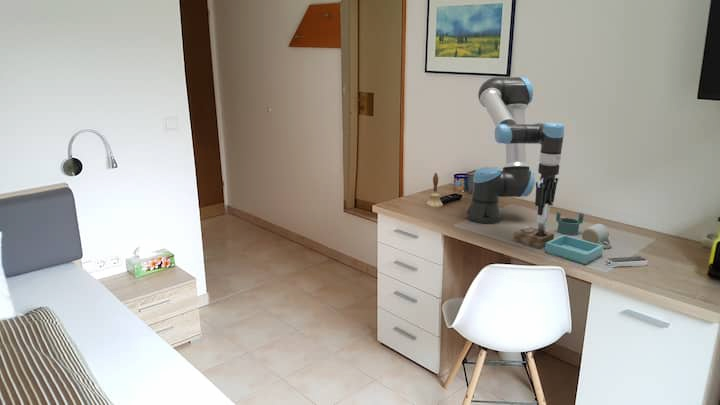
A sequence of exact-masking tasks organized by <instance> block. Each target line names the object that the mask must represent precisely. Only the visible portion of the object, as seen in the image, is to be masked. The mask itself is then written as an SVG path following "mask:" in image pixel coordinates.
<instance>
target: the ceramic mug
mask: <svg viewBox="0 0 720 405" xmlns="http://www.w3.org/2000/svg"><path fill="white" fill-rule="evenodd" d="M581 238H582V240H585V241H588V242H592V243H596V244H599V245H603V249H610V248H611V246H612V245H613V244H612V241H611V240H610V232H609V229H608V227H606V225H605V224H602V223H595V224H592V225H591V226H589V227H586V228H585V229H584V230H583V232H582V235H581ZM604 242H606V243H607V245H606V244H604Z"/></svg>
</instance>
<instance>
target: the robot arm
mask: <svg viewBox="0 0 720 405" xmlns="http://www.w3.org/2000/svg"><path fill="white" fill-rule="evenodd" d="M477 95H478V101H479V103H480V105H481V106H482V107H484V108H486V111H487V112H488V115H489V116H490V119H491V120H492V122H493V124H494V125H495V129H494V140H495V142H496V143H498V144H504V145H505V165H503V166H502V169H501V168H500V167H497V166H486V167H481V168H477V170H475V171H474V174H473V180H472V182H473V184H472V194H471V202H470V205H469V208H468V209H467V212H466V219H467V220H469V221H470V222H474V223H479V224H495V223H496V224H497V223H499V222H500V221H501V220H502V219H501V216H502V214H501V210H500V206H499V198H502V197H505V198H506V197H507V198H515V197H516V198H522V197H523V198H524V197H528V196H530V195H531V194H532V192H533V190H534V187H535V188H536V189H535V202H534V206H536V207H537V214H536V222H537V223H538V222H539V223H544V216H545V208H546V207H544V206H545V203H548V210H547V218H546V222H549V217H550V209H551V206H554V201H555V198H556V190H557V184H558V182H559V178H558V177H556V176H557V175H559V174H560V164H561V159H562V157H561V156H562V148H563V143H564V136H565V125H564V124H563V123H559V122H551V121H550V122H545V123H540V122H536V123H532V124H526V109H527V108H529V104H531V102H532V101H533V96H534V89H533V85H532V82H531V81H530V79H528V78H527V77H520V76H517V77H510V76H508V77H502V76H501V77H500V76H496V77H491V78H489V79H487V80H486V81H484V82H483V83H482V84H481V86H480V87H479V90H478V94H477ZM526 144H527V145H528V144H531V145H533V144H538V145H541V146H540V154H539V164H538V169H537V171H538V173H539V175H540V177H539V181H536V178H535V176H536V175H535V172H534V171H533V170H530V165H529V164H527V158H526V157H527V156H526V154H527V149H526V146H527V145H526ZM535 181H536V182H535Z"/></svg>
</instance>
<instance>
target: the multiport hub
mask: <svg viewBox="0 0 720 405" xmlns="http://www.w3.org/2000/svg"><path fill="white" fill-rule="evenodd" d="M648 262H649V260H648V259H646V258H644V257H642V256H640V255H639V256H625V257H622V256H620V257H607V258H605V263H607V264H610V266H614V267H615V266H632V267H645V266H648ZM605 263H604V264H605ZM607 264H606V265H607ZM610 266H609V267H610Z"/></svg>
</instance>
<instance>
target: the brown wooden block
mask: <svg viewBox="0 0 720 405" xmlns="http://www.w3.org/2000/svg"><path fill="white" fill-rule="evenodd" d="M537 230H538V228H535V227H532V226H526V225H525V226H522V227H521V228H520V229H517V230H515V231H514V232H513V239H512V241H514V242H516V243H519V244H523V245H526V246H529V247H533V248H535V249H539V250H541V249H543V248H544V249H545V246H546V242H549V241H551V240H553V239H555V233H553V232H550V231H546V230H545V234H544V236H540V235H537Z"/></svg>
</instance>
